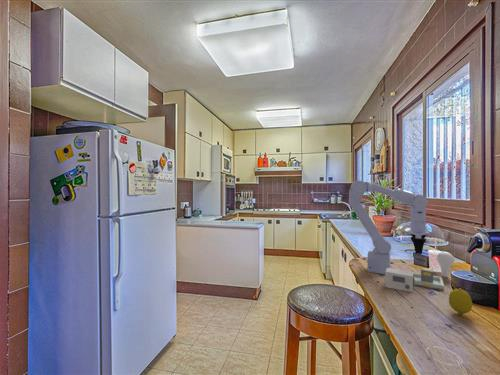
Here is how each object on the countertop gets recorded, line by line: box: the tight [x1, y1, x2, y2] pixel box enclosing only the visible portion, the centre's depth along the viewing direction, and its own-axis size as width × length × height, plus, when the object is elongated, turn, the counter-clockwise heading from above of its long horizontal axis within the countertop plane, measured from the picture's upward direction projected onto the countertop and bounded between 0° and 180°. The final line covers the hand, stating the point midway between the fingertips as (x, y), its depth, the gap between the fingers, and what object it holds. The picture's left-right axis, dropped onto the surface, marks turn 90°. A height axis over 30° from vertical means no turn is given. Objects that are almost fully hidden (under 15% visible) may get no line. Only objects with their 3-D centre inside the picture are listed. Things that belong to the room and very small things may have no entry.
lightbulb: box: [437, 251, 455, 278], centre depth 109 cm, size 6×6×11 cm
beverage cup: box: [427, 240, 443, 273], centre depth 118 cm, size 6×6×14 cm
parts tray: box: [413, 272, 445, 291], centre depth 102 cm, size 11×11×2 cm
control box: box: [385, 267, 415, 293], centre depth 98 cm, size 10×6×6 cm
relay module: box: [420, 267, 434, 283], centre depth 102 cm, size 4×4×5 cm
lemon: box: [448, 287, 473, 315], centre depth 77 cm, size 6×6×8 cm
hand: (418, 251), depth 111 cm, fingers open, 7 cm apart
